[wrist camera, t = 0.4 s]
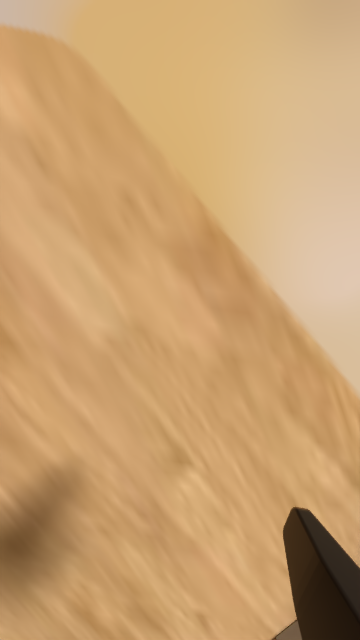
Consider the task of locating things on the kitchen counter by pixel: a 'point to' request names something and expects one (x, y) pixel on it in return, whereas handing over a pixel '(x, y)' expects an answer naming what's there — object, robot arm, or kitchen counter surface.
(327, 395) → the kitchen counter surface
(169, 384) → the kitchen counter surface
